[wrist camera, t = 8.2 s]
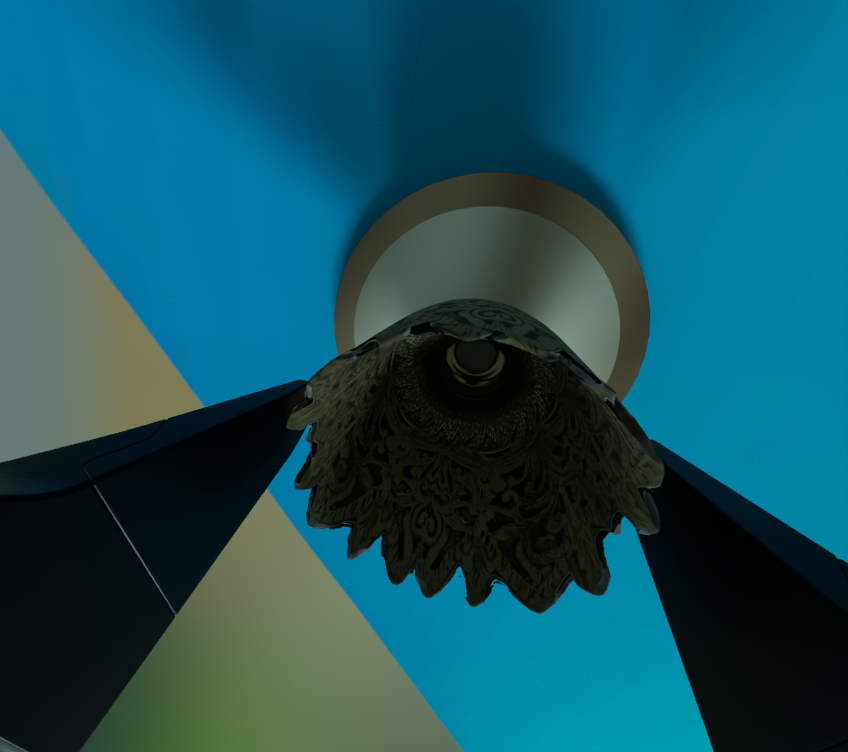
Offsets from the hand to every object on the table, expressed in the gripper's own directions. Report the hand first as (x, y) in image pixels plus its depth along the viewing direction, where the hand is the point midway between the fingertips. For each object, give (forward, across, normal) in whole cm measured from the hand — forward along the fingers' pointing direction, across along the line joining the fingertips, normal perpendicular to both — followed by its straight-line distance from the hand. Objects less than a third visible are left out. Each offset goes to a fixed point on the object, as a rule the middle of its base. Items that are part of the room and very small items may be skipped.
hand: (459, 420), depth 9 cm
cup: (+5, 0, 0) cm, 5 cm away
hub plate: (+6, 0, 0) cm, 6 cm away
